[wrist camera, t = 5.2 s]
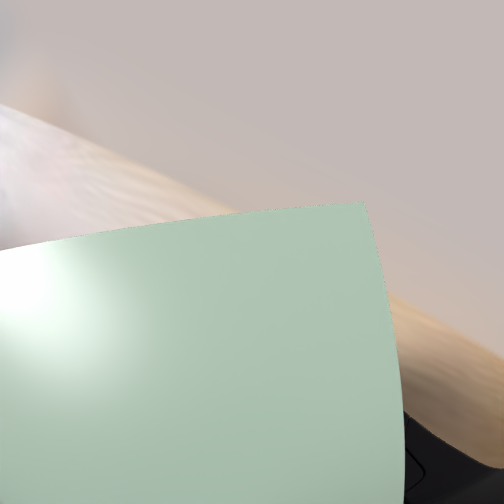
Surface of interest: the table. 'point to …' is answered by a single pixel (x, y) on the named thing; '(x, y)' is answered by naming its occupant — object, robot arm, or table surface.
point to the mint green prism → (202, 364)
